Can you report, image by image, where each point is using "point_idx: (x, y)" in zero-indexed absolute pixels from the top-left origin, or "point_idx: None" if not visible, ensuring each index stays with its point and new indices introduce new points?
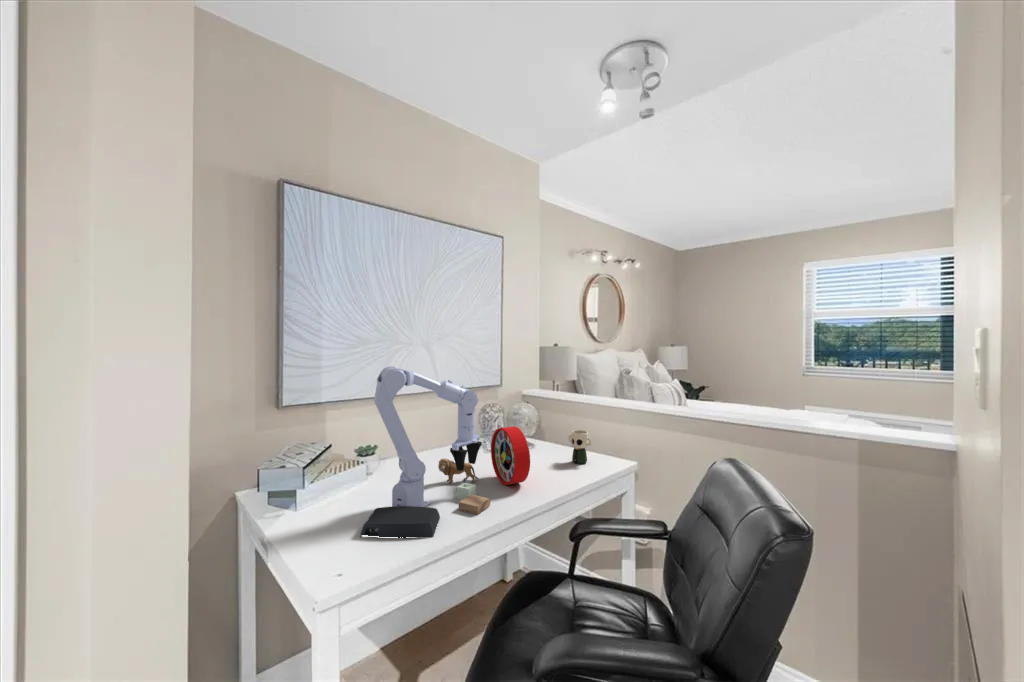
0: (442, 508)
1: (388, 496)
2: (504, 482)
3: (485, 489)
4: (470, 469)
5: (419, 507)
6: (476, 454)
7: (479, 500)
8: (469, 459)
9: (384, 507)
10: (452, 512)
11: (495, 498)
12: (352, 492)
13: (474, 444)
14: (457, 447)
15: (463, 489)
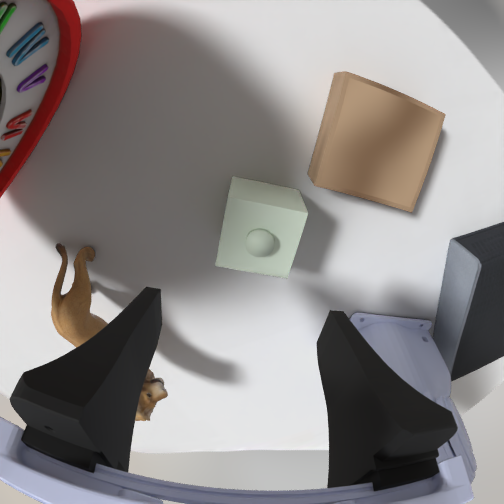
0: (384, 260)
1: (308, 406)
2: (48, 111)
3: (134, 166)
4: (71, 294)
5: (472, 310)
6: (121, 332)
7: (384, 120)
8: (153, 343)
9: (451, 373)
10: (414, 214)
11: (227, 73)
12: (298, 445)
13: (103, 436)
14: (467, 476)
15: (298, 239)
